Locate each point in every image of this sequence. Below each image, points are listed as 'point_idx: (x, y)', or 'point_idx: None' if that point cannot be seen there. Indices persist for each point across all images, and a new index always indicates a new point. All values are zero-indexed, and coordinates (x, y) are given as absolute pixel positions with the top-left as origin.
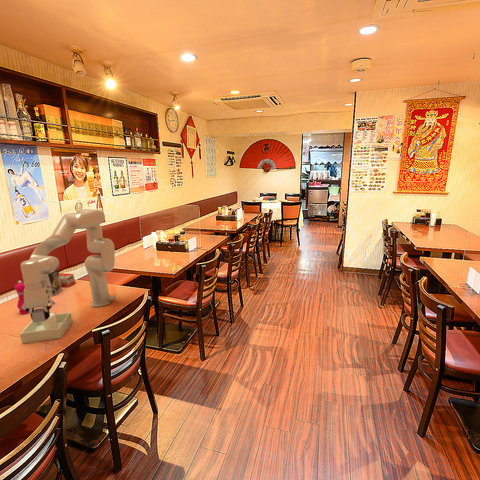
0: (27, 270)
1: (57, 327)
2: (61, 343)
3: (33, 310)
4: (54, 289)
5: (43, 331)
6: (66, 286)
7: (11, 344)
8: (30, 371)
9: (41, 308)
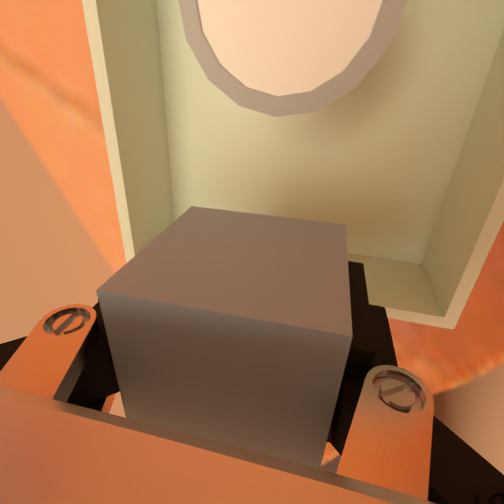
0: None
1: (380, 61)
2: (432, 333)
3: (96, 357)
4: None
5: None
6: None
7: (108, 214)
8: None
9: (220, 329)
